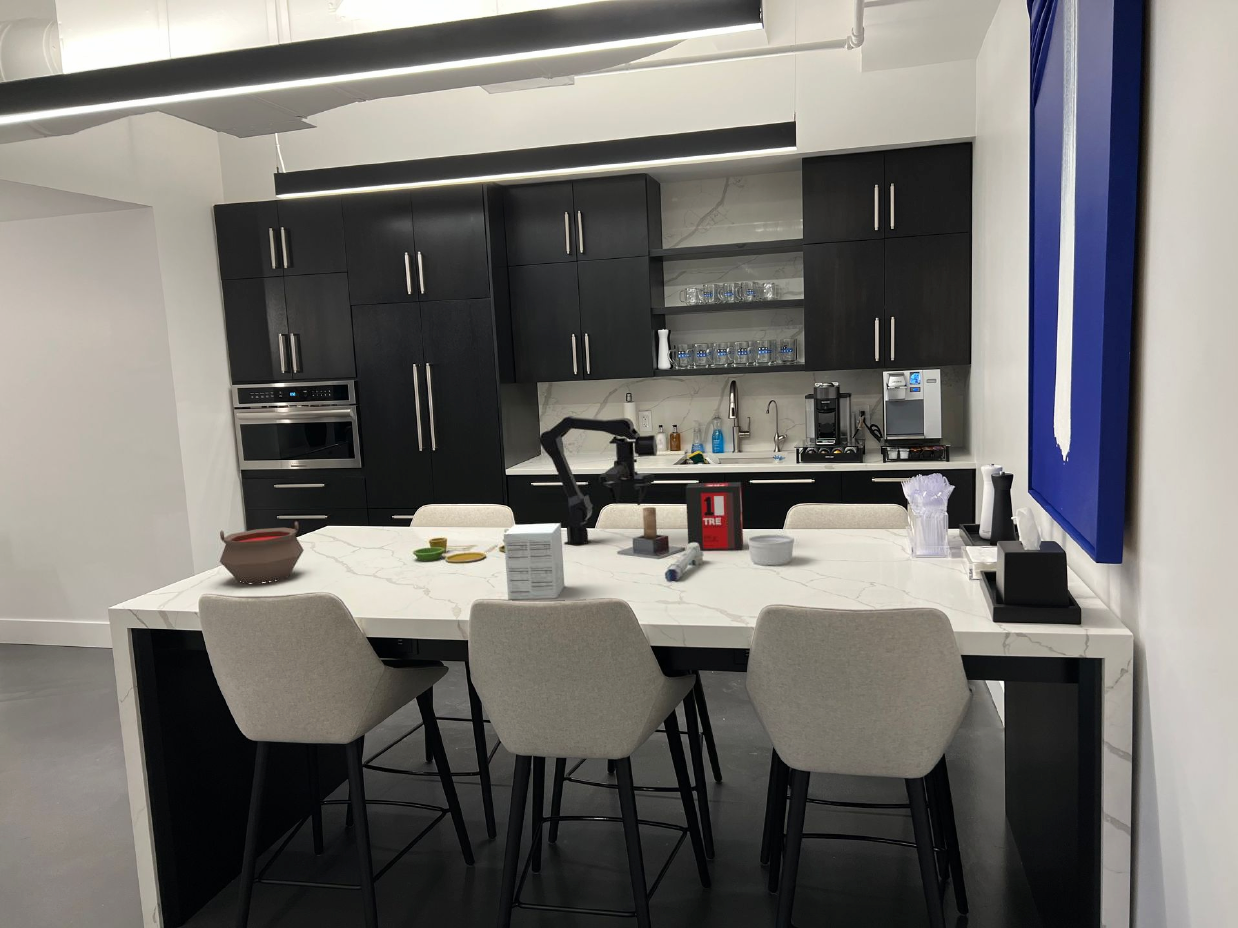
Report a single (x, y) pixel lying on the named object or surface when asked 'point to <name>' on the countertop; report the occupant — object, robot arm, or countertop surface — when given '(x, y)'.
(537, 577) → the supplement box
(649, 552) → the grey square socket base
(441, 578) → the countertop surface
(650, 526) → the rail post
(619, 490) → the robot arm
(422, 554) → the tableware set
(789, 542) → the ramekin
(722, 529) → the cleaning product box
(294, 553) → the brown cooking pot
